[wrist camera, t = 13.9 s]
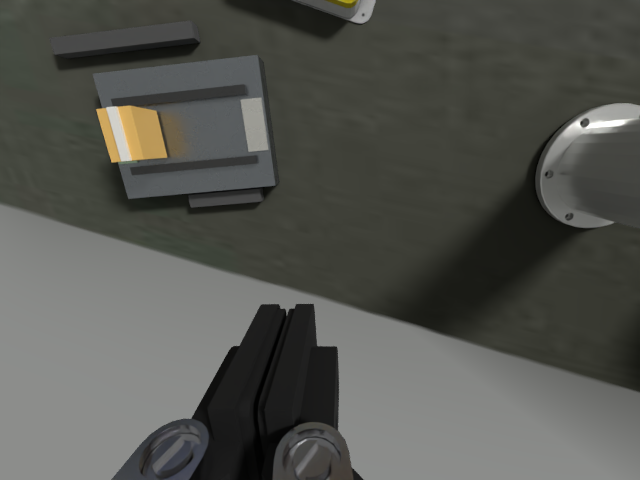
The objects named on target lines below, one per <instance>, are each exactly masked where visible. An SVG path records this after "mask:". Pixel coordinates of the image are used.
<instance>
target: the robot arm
mask: <svg viewBox="0 0 640 480" xmlns="http://www.w3.org/2000/svg"><path fill="white" fill-rule="evenodd" d="M535 186H536V192H537V196H538V199H539V201H540V203H541V205H542V207H543V208H544V209H545V211H546V212H547V213H548V214H549V215H550V216H552V217H553V218H554V219H556V220H558V221H560V222H562V223H565V224H567V225H571V226H574V227H580V228H596V227H602V226H606V225H610V224H613V223H615V222H616V223H620V224H624V225H628V226H631V227H635V228H639V229H640V106H639V105H634V104H630V103H615V104H609V105H602V106H599V107H595V108H592V109H589V110H587V111H585V112H583V113H581V114H578V115H577V116H575V117H574V118H572V119H571V120H569V121H568V122H567V123H565V124H564V125H563V126H562V127H561V128H560V129H559V130H558V131H557V132H556V133H555V134H554V135H553V137H552V138H551V139H550V141H549V142H548V143H547V145H546V147H545V149H544V150H543V152H542V154H541V157H540V159H539V162H538V165H537V170H536V176H535ZM337 352H338V350H337V347H322V346H320V347H318V346H317V340H316V326H315V312H314V304H296V306H295V309H289V312H288V315H287V316H286V310H285V309H280V306H279V304H271V305H270V304H269V305H266V304H265V305H264V304H263V305H261V306H260V308H259V309H258V311H257V314H256V315H255V317H254V319H253V321H252V323H251V325H250V327H249V329H248V331H247V333H246V335H245V337H244V338H243V340H242V342H241V344H240V346H233V347H232V348H231V349H230V350H229V352H228V354H227V355H226V357H225V359H224V361H223V363H222V364H221V366H220V368H219V370H218V372H217V373H216V375H215V377H214V379H213V381H212V382H211V384H210V386H209V388H208V390H207V391H206V393H205V395H204V397H203V399H202V400H201V402H200V404H199V406H198V408H197V410H196V411H195V413H194V415H193V417H192V419H181V420H176V421H173V422H171V423H168V424H166V425H164V426H162V427H160V428H159V429H158V430H156V431H155V432H153V433H152V434H150V435H149V436H148V437H147V439H146V440H144V441H143V442H142V444H141V445H140V446H139V447H138V448H137V449H136V451H135V452H134V453H133V454H132V455H131V457H130V458H129V459H128V460H127V461H126V463H125V464H124V465H123V466H122V468H121V469H120V470H119V471H118V472H117V474H116V475H115V476H114V477H113V478H112V480H363V479H362V478H361V477H360V475H359V474H358V473H357V472H356V471H354V469H352V467H351V461H350V455H349V450H348V447H347V444H346V441H345V439H344V438H343V437H342V435H341V434H340V433H339V431H338V406H339V405H338V402H339V401H338V400H339V375H338V353H337Z"/></svg>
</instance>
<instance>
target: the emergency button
mask: <svg viewBox="0 0 640 480" xmlns="http://www.w3.org/2000/svg"><path fill="white" fill-rule="evenodd" d="M293 1H295V2H298V3H301V4H304V5H307V6H309V7H312V8H315V9H318V10H321V11H323V12H326V13H329V14H332V15H335V16H337V17H340V18H343V19H346V20H349V21H351V22H354V23H359V24H363V23H365V22H367V21H368V20H369V18H370V17H371V14H372V11H373V8H374V4H375V1H376V0H293Z"/></svg>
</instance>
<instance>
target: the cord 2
mask: <svg viewBox="0 0 640 480" xmlns="http://www.w3.org/2000/svg"><path fill="white" fill-rule="evenodd" d="M188 198H189V203H190V207H191V208H193V207H204V206H216V205H227V204H239V203H251V202H261V201H263V200H264V196H263V189H262V187H257V188H246V189H235V190H224V191H213V192H202V193H193V194H190V195H188Z"/></svg>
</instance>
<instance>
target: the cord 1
mask: <svg viewBox="0 0 640 480" xmlns="http://www.w3.org/2000/svg"><path fill="white" fill-rule="evenodd" d="M49 39H50V42H51V45H52V49H53V52H54V55H57V56H60V57H63V58H66V59H68V58H76V57H85V56H93V55H101V54H110V53H118V52H127V51H135V50H143V49H152V48H160V47H168V46H177V45H185V44H194V43H200V38H199V32H198V27H197V25H195V24H194V23H193V22H192V21H183V22H175V23H167V24H158V25H150V26H142V27H134V28H126V29H118V30H110V31H102V32H94V33H86V34H78V35H70V36H62V37H54V38H49Z"/></svg>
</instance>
